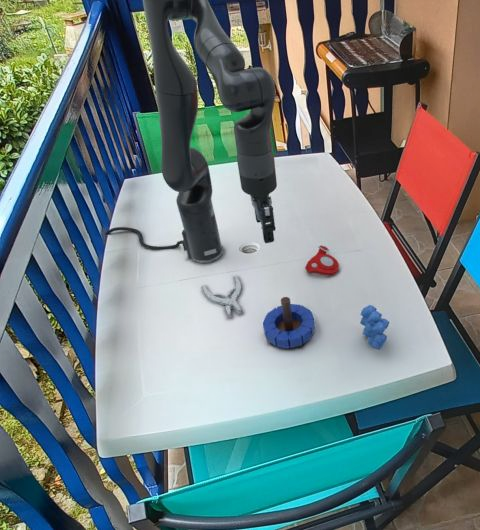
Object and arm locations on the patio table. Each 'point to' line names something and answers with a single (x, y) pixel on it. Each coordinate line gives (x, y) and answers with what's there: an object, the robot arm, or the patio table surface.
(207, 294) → the pliers
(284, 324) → the post
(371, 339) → the grapes
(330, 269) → the tracker holder
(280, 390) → the patio table surface
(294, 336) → the ring
